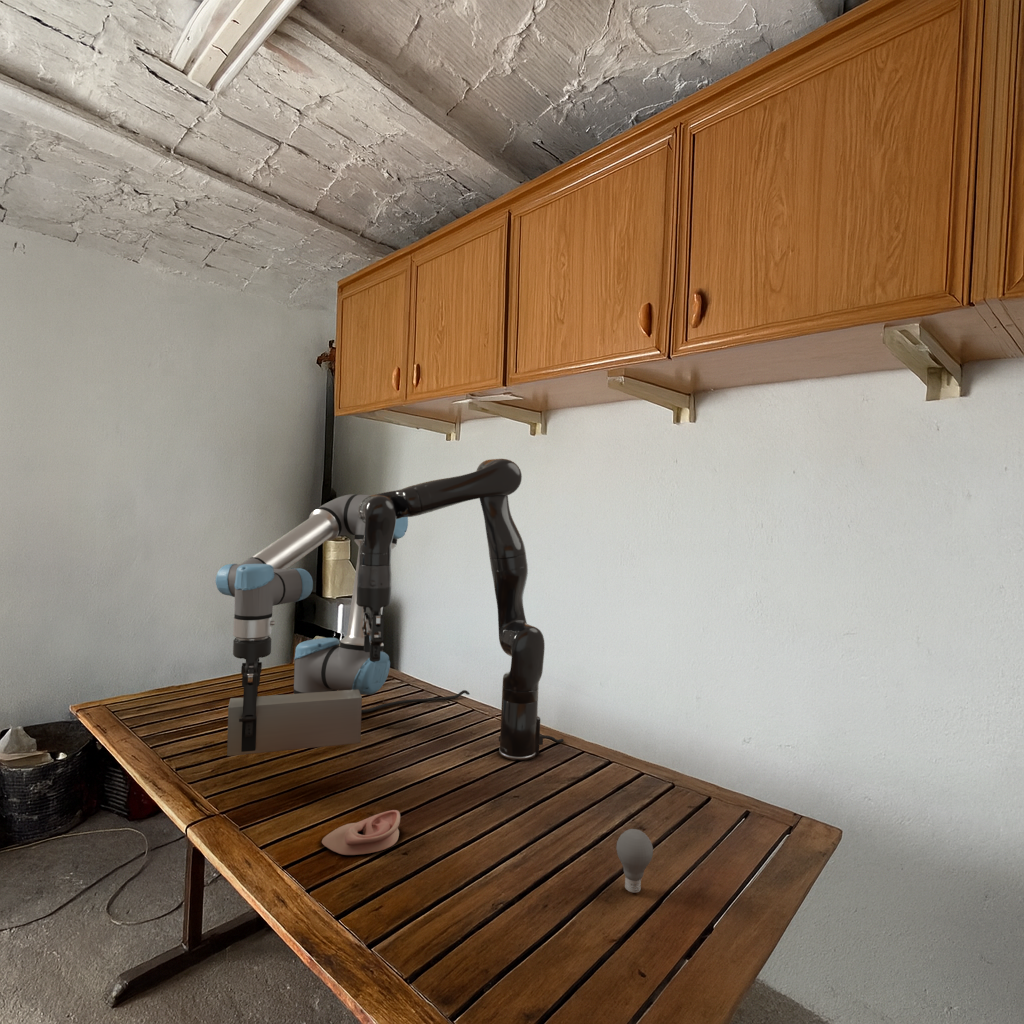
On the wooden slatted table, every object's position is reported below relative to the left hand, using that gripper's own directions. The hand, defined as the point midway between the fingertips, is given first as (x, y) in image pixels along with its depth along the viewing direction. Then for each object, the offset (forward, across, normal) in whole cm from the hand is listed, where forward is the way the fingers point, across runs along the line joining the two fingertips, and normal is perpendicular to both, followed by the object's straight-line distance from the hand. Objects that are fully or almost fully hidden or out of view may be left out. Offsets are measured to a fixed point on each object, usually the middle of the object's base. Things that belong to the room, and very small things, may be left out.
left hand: (249, 744), depth 135 cm
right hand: (-18, -2, -25) cm, 31 cm away
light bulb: (+10, -55, -62) cm, 83 cm away
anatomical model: (+10, -27, -21) cm, 35 cm away
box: (+1, 0, -10) cm, 10 cm away
